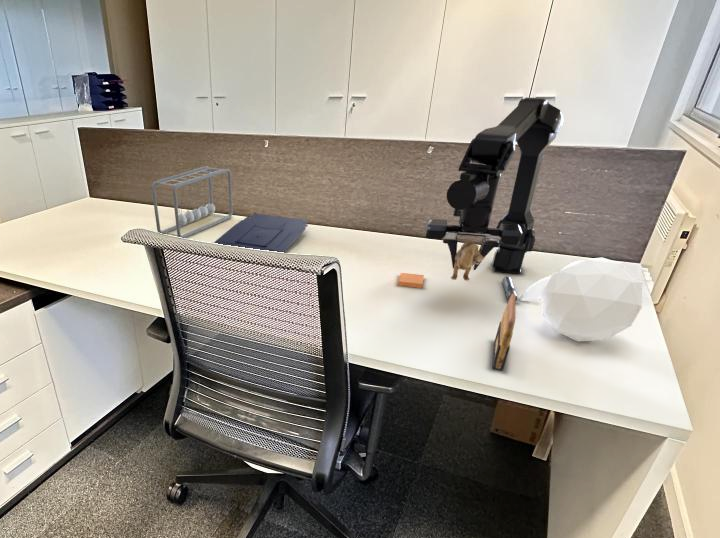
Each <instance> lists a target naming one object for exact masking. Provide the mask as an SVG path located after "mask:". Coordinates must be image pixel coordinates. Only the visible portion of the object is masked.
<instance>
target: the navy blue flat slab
mask: <svg viewBox="0 0 720 538" xmlns="http://www.w3.org/2000/svg"><path fill="white" fill-rule="evenodd" d="M308 222H309V219H303V218H293V217H287V216H276V215H272V214H271V215H270V214H265V213H256V212H255V213H253V214H252V215H251V216H246V217H245V218H244V219H241V220H240V221H239V222H238V223H237V222H236V224H234V225H233V226H231V227H230V228H229V229H227V231H226V232H224V233H223V234H222V235H221V236H220V237H219V238H217V239H216V240H215V241H214V242H213V243H218V244H223V245H231V246H238V247H245V248H253V249H260V250H269V251H277V252H284V253H285V252H286V250H287V249H288V248H289V247H290V246H291V245H292V244H293V243H294V242H295V241H296V240H297V239H298V238H299V237H300V236H301V235H302V234H303V233H304V232H305V231H306V229H307V227H308V226H309V224H307V223H308Z"/></svg>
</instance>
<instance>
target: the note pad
mask: <svg viewBox="0 0 720 538" xmlns="http://www.w3.org/2000/svg"><path fill="white" fill-rule="evenodd" d="M399 273H400V274H399V277H398V282H397V286H398V287H399V286H400V287H408V288H417V289H423V286H424V279H425V278H424V277H425V275H424V274H418V273H408V272H399Z"/></svg>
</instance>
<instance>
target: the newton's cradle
mask: <svg viewBox="0 0 720 538" xmlns="http://www.w3.org/2000/svg"><path fill="white" fill-rule="evenodd" d="M212 170H215V171H212ZM203 172H205V173H203ZM206 172H207V173H206ZM199 173H201V175H200V176H196V175H198V174H199ZM224 173H227V187H228V205H229V206H228V207H229V213H228V215H222V214H216V213H215V211H216V206H215V204H214V199H213V198H214V197H213V181H212V178H213V177H215V176H219V175H221V174H224ZM189 176H192V177H193V178H190V179H189ZM185 177H187V178H188V179H186V178H185ZM178 179H179V181H178V182H177V183H174V182H175V181H176V180H178ZM182 179H184V181H182ZM205 180H207V181H208V192H207V189H206V188H207V187H206V181H205ZM200 181H203V183H204V187H203V189H204V190H203V192H205V193H206V194H208V195H209V196H208V195H206V198H209V199H207V202H208V203H207V204H206V205H204V203H205V198H203V201H202V200H201V199H199V200H200V205H201V206H199V207H198V208H197V206H198V200H196V203H194V198H193V197H189V198H188V199H189V200H188V207H187V202H186V201H184V200H186V197H185V192H184V188H183V187H185V186H187V185H188V187H189V192H190V196H193V193H192V190H191V189H192V188H191V185H192V184H194V183H195V184H196V193H200V191H199V183H198V182H200ZM169 182H172V184H171V183H169ZM157 185H164V186H171V187H173V188H172V201H173V208H174V218H175V225H173V226H171V227H168V228H165V229H161V224H160V216H159V215H160V214H159V208H158V199H157V193H156V192H157V191H156V187H157ZM179 188H181V190H182V193H181V201H184V203H185V208H186V212H184V213H183V212H180V210H179V209H180V207H179V206H180V205H179V204H178V196H177V190H178V189H179ZM151 195H152V201H153V202H152V203H153V209H154V215H155V217H154V218H155V224H156V230H157V233H159V232H160V233H164V234H166V235H171V236H175V237H178V238H179V237H182V238H183V239H186V238H188V237H190V236H193V235H195V234H197V233H199V232H202V231H204V230H206V229H209V228H211V227H213V226H216V225H218V224H220V223H222V222H225V221H227V220H230V219H231V218H232V216H233V212H234V210H233V208H234V207H233V189H232V172H231V170H230V169H229V168H217V167H210V166H208V165H204V166H201V167H197V168H195V169H191V170H188V171H184V172H181V173H178V174H174V175H172V176H171V175H170V176H167V177H164V178H162V179H158V180H155V181H153V182H152V184H151ZM198 196H199V198H201V196H200V194H198ZM183 199H184V200H183ZM191 200H192V204H193V205H195V206H193V209H192V210H191V211H190V210H189V209H188V208H190V206H191ZM209 216H218V217H222V218H219V219H218V220H215V221H212V222H210V223H208V224H206V225H203V226H201V227H198V228H195V229H193V230H191V231H189V232H186V233H184V234H181V233H182V232H181V227H184V226H186V225H189V224H191V223H194V222H196V221H199V220H201V219H203V218H207V217H209ZM174 230H176V234H175V233H171V231H174ZM160 233H159V234H160Z"/></svg>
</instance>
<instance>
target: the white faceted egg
mask: <svg viewBox="0 0 720 538" xmlns="http://www.w3.org/2000/svg"><path fill="white" fill-rule="evenodd" d="M519 301H521V302H539V301H541V309H542V316H543V318H544V319H545V320H546V321H547V322H548V323H549V325H550V326H551V327H552V328H553V330H554V331H556V332H557V333H559V334H561V335H563V336H565V337H567V338H569V339H571V340H573V341H575V342H592V341H593V342H594V341H607V340H609V339H611V338H612V337H614V336H616V335H618V334H620V333H621V332H624V331H625V330H627V329H629V328H630V327H632V326H633V323H634V322H635V320H636V319H637V317H638V315H639V314H640V311H641V310H642V307H643V306H642V305H643V282H642V281H641V280H640V279H639V278H638V277H637V276H636V275H635V274H634V273H632V272H631V271H630V270H629V269H628V268H627V267H626V266H625V265H623V264H622V263H620V262H618V261H615V260H611V259H610V258H609V259H608V258H605V257H595V258H587V259H582V260H575V261H573V262H571V263H569V264H567V265H566V266H564V267H563V268H561V269H559V270H558V271H557V272H555V273H552V274H549V275H547V276H545V277H543V278H541V279H539V280H537V281H535V282H533V284H531V285H530V286H529V287H528V288H527V289H526V290H524V292H523V293H522V294H521V295H520V296H519Z"/></svg>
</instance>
